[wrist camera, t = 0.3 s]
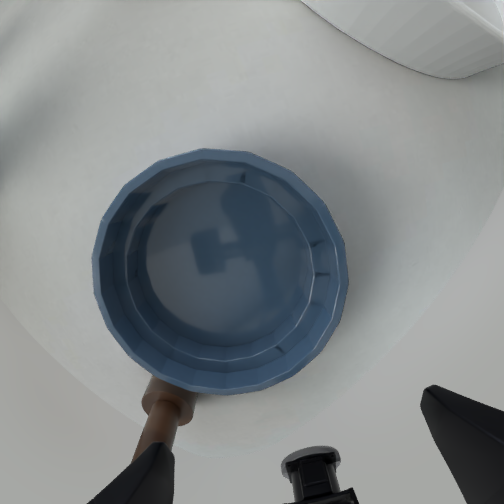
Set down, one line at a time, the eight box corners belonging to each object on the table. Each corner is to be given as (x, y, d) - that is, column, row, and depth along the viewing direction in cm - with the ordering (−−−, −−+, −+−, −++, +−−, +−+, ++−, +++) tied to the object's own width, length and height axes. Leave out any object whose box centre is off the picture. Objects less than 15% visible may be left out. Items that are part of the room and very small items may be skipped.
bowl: (336, 337, 21) (354, 368, 16) (158, 368, 21) (143, 401, 17) (305, 139, 17) (322, 125, 13) (100, 191, 18) (66, 194, 13)
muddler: (204, 402, 22) (189, 492, 12) (161, 405, 22) (134, 486, 12) (188, 367, 21) (161, 461, 11) (143, 371, 21) (102, 454, 12)
